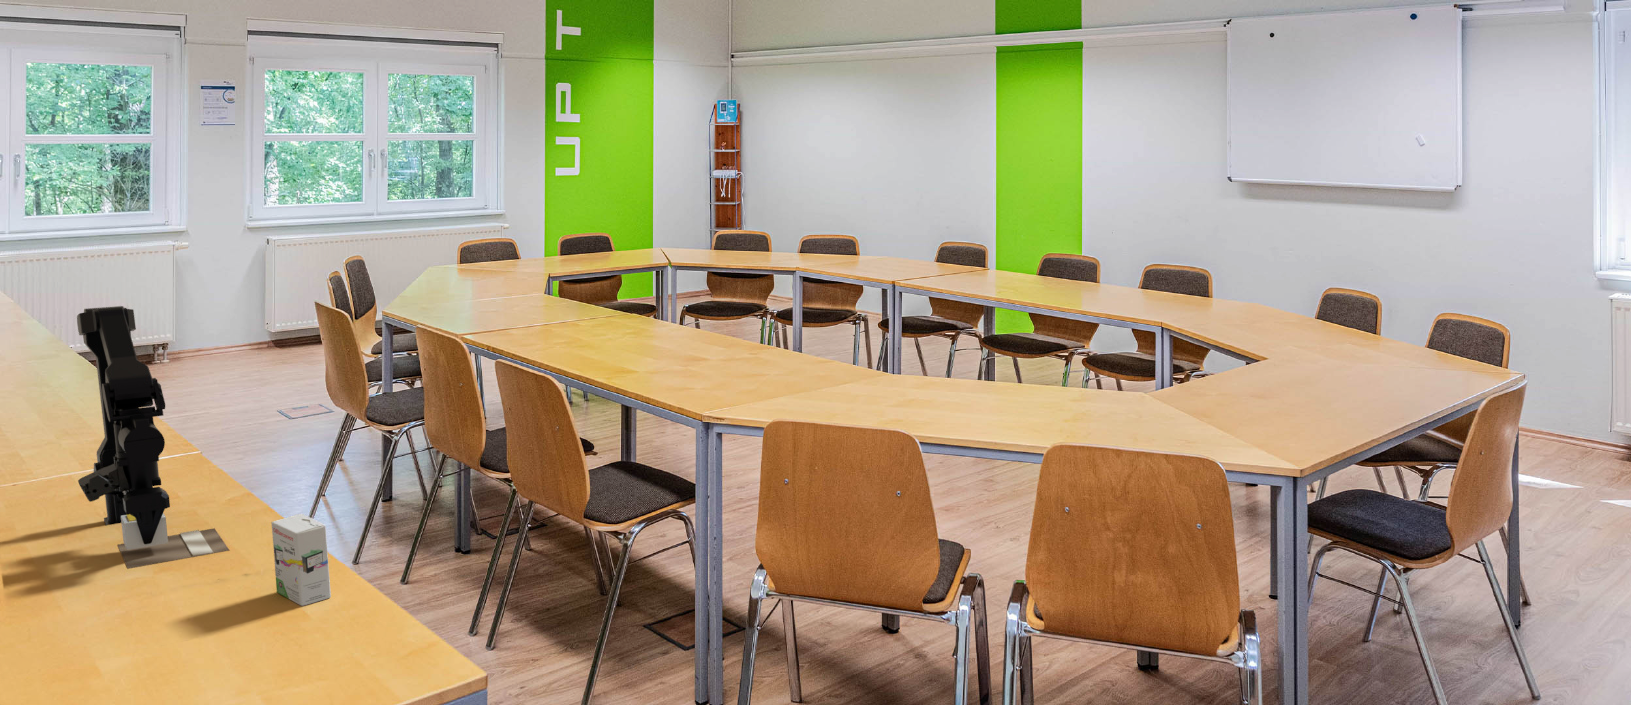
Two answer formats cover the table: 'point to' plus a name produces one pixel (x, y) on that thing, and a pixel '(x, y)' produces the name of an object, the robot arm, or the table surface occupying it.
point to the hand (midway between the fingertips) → (145, 539)
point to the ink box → (301, 559)
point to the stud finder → (133, 535)
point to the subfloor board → (175, 548)
